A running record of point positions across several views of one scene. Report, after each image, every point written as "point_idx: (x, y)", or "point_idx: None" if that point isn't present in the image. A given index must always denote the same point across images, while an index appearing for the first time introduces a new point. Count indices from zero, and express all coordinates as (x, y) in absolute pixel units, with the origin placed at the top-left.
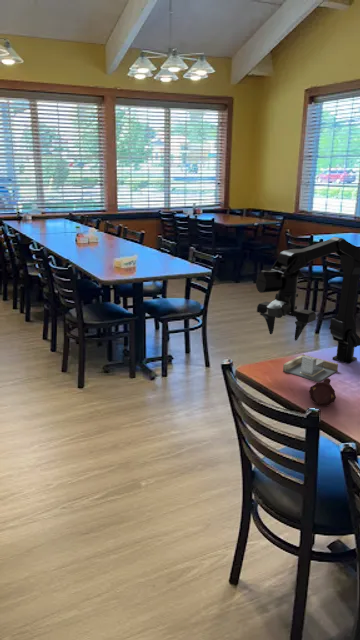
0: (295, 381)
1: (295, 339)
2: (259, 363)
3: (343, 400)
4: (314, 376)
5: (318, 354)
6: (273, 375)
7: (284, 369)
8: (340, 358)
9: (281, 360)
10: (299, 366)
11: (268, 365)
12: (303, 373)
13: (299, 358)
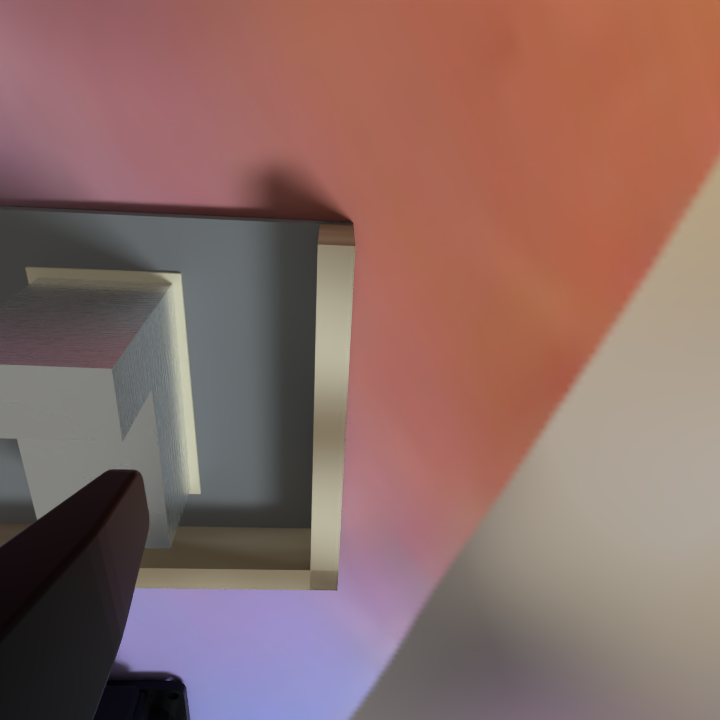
0: (85, 35)
1: (103, 481)
2: (654, 256)
3: None
4: (17, 284)
5: (311, 696)
6: (378, 27)
7: (336, 229)
8: (100, 699)
9: (492, 453)
10: (278, 415)
11: (550, 269)
12: (139, 278)
13: (312, 499)
